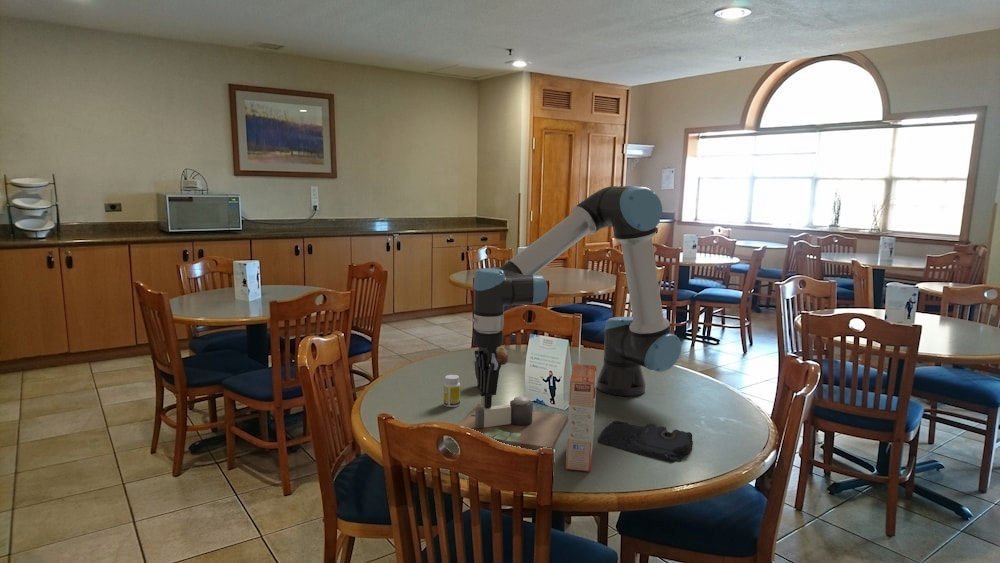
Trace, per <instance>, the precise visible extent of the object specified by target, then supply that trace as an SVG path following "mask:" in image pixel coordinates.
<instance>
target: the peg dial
mask: <svg viewBox="0 0 1000 563" xmlns="http://www.w3.org/2000/svg"><path fill="white" fill-rule="evenodd" d="M533 405H534V403H533V401H532V400H530V398H528V397H526V396H516V397H514V398H513V399H512V400H510V401H509V404H500V405H492V407H491V408H485V407H484V408H482V407H479V408H476V411H475V426H476V427H477V428H484V427H492V426H499V425H506V424H511V423H512V424H515V425H528V424H531V423H532V415H533V411H534V406H533Z"/></svg>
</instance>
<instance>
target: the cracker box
mask: <svg viewBox="0 0 1000 563" xmlns="http://www.w3.org/2000/svg"><path fill="white" fill-rule="evenodd" d="M596 397H597V365H594V364H579V363H574V364H573V365H572V370H571V375H570V380H569V396H568V409H567V410H568V412H567V415H568V421H567V428H566V429H567V431H566V432H567V433H566V452H565V470H570V471H571V470H572V471H578V472H587V473H588V472H591V467H592V455H593V454H592V453H593V445H594V443H593V442H594V430H595V428H594V427H595V415H596V399H597V398H596Z"/></svg>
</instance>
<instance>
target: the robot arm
mask: <svg viewBox="0 0 1000 563" xmlns="http://www.w3.org/2000/svg"><path fill="white" fill-rule="evenodd" d="M662 217H663V204H662V202H661V199H660V197H659V196H658V194H657V193H656V192H655V191H654V190H652V189H651V188H648V187H646V186H645V187H644V186H641V185H640V186H639V185H627V186H626V185H625V186H624V185H623V186H622V185H621V186H619V185H618V186H616V185H614V186H613V185H612V186H611V185H610V186H607V187H603V188H602V189H599V190H597V191H595V192H593V194H591V195H589V196H587V197H586V198H585V199H583V200H582V201H581V202H580V203H578V204H576V205H575V206H574V207H573V208H572V210H571V214H569V215H568V216H567V217H565V218H564V219H562V220H561V221H560V222H559V223H557V224H556V225H555V226H553V227H551V229H549V230H548V231H547V232H546V233H544V234H543V235H542V236H540V237H538V238H537V239H536V240H535V241H534V242H532V243H531V244H529V245H528V246H527V247H525V248H524V249H523V250H522V251H520V252H519V253H517V254H516V255H515V256H514V257H511V258H510V260H508V261H507V262H505V263H504V264H503V265H501V266H500V267H498V266H497V267H492V268H491V267H490V268H489V267H488V268H487V267H485V268H480V269H478V270H476V272H475V273H474V277H473V278H474V281H473V318H471V321H472V322H473V329H474V330H473V331H472V332H473V333H472V345H474V346H475V347H477V348H478V350H474V357H475V361H476V370H477V378H476V382H477V389H479V392H480V404H481V407H482V408H484V407H485V408H491V407H492V406H493V396H496V395H497V389H498V383H499V375H500V374H499V373H500V369H501V367H502V364H501V363H500V362H499V363H497V361H496V360H497V352H496V349H497V348H498V347H500V346H502V345H503V342H504V341H503V340H504V339H503V336H504V331H503V328H504V316H505V315H504V314H505V313H504V310H505V309H504V308H505V307H509V306H522V305H523V306H524V305H534V304H540V303H543V302H545V301H546V299H547V297H548V289H549V287H548V283H547V280H546V279H545V277H544V276H543V275H541V274H537V273H539V272H540V271H541V270H542V269H544V268H546V267H547V266H548V265H549V264H551V262H553V261H554V260H556V259H557V258H558V257H559V256H561V255H562V254H564V253H565V252H566V251H568V250H569V249H570V248H571V247H573V246H574V245H575V244H577V243H578V242H579V241H580V240H582V239H583V238H585V237H586V236H587V235H594V234H596V233H597V232H598V231H600V230H601V229H606V228H609V227H610V228H612V231H613V236H614V239H615V240H616V241H617V242H619V243H620V245H621V252H622V258H623V265H624V270H625V277H626V284H627V289H628V294H629V296H628V298H629V302H630V309H631V314H632V315H631V316H616V317H610V318H609V317H608V318H607V320H605V327H604V330H603V331H604V341H603V342H604V343H603V344H604V346H603V363H602V367H601V369H600V371H599V374H598V377H597V378H596V389H597V390H599V391H601V392H603V393H605V394H609V395H613V396H619V397H620V396H621V397H633V396H635V397H636V396H639V395H642V394H644V393H645V392H646V381H645V377H644V374H643V370H642V367H644V368H646V369H648V370H650V371H655V372H658V373H659V372H660V373H662V372H667V371H669V370H670V369H672V368H673V367H675V365H676V364H677V361H678V360H679V358H680V356H681V353H682V342H681V340H680V338H679V337H678V336H677V335H676V334H674V333H672V331H671V330H672V329H671V323H670V321H669V319H667V318H666V317H664V313H663V312H664V311H663V305H662V299H661V291H660V285H659V278H658V272H657V266H656V264H657V263H656V256H655V251H654V244H653V237H654V236H655V235H656V233H657V231H658V230H657V226H658V225H659V224H660V222H661V220H660V219H661V218H662Z"/></svg>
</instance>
